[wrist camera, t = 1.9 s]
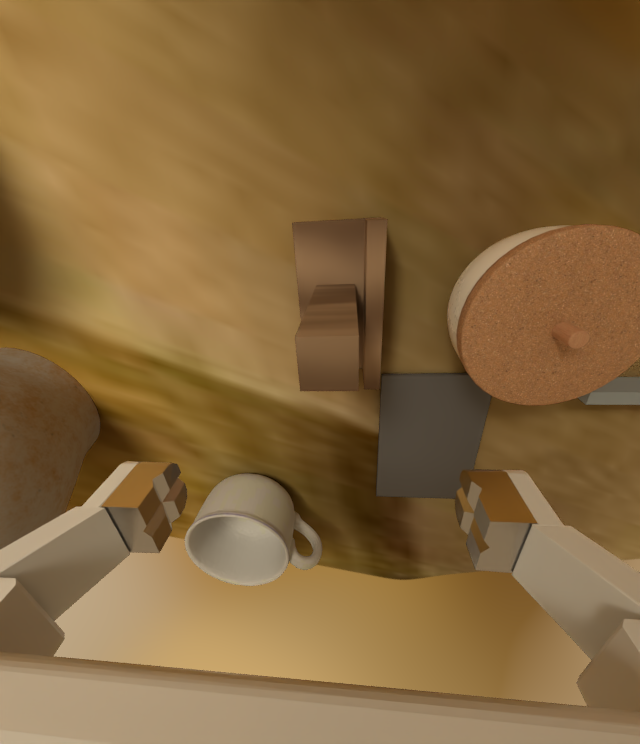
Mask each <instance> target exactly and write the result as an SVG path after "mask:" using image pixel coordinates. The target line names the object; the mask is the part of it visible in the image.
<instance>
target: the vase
mask: <svg viewBox="0 0 640 744" xmlns="http://www.w3.org/2000/svg"><path fill="white" fill-rule="evenodd" d="M99 433H100V418H99V414H98V411H97V408H96V406H95V404H94V402H93V401H92V399H91V397H90V396H89V394H88V393H87V392H86V390H85V389H84V388H83V387H82V386H81V385H80V384H79V383H78V382H77V380H76V379H74V378H73V377H72V376H71V375H70V374H68V373H67V372H66V371H65V370H63V369H62V368H60V367H59V366H57V365H56V364H54V363H53V362H51V361H49V360H47V359H45V358H43V357H41V356H39V355H36V354H34V353H31V352H28V351H24V350H20V349H14V348H0V550H1V549H2V548H4V547H6V546H8V545H9V544H11V543H13V542H15V541H16V540H18V539H20V538H22V537H23V536H25V535H27V534H29V533H31V532H32V531H34V530H36V529H38V528H39V527H41V526H43V525H45V524H46V523H48V522H50V521H52V520H53V519H55V518H57V517H59V516H60V515H62V514H64V513H65V511H66V508H67V506H68V503H69V500H70V498H71V495H72V492H73V489H74V486H75V483H76V480H77V477H78V474H79V471H80V469H81V466H82V463H83V460H84V457H85V454H86V453H87V451H88V450H89V449H90V448H91V446H92V445H93V444H94V442H95V441H96V440H97V438H98V436H99Z"/></svg>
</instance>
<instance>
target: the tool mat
mask: <svg viewBox="0 0 640 744" xmlns="http://www.w3.org/2000/svg"><path fill="white" fill-rule="evenodd" d="M491 397H492V396H491V395H489V394H488V393H486V392H485V391H483V390H482V389H481V388H480V387H479V386H478V385H476V384H475V382H474V381H473V380H472V379H471V377H470V376H469V375H468V373H426V374H382V378H381V400H380V421H379V442H378V463H377V484H376V496H386V497H418V498H450V499H455V497H456V492H457V491H458V490H459V489H460V488H461V487H462V486H461V483H460V481H459V478H460V474H461V472H462V470H463V469H471V470H473V469H474V465H475V461H476V457H477V453H478V449H479V445H480V441H481V437H482V433H483V429H484V425H485V421H486V417H487V413H488V409H489V405H490V401H491Z"/></svg>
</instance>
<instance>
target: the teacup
mask: <svg viewBox="0 0 640 744" xmlns="http://www.w3.org/2000/svg"><path fill="white" fill-rule="evenodd" d="M294 529H295V530H297V531H299V532H300V533H302V534H303V535H304V536H305V537H306V538H307V539H308V540H309V542H310V543H311V545H312V547H313V553H312V554H311V555H310V556H302V555H300V554H299V553H298V551H297V549H296V546H295V540H294V539H293V530H294ZM185 547H186V551H187V553H188V555H189V557H190V558H191V559H192V561H193V562H194V563H195V564H196V565H197V566H198V567H199V568H200V569H202V570H203V571H204V572H205V573H207V574H209V575H210V576H212V577H215V578H217V579H219V580H221V581H224V582H227V583H231V584H236V585H245V586H255V585H262V584H266V583H269V582H271V581H273V580H275V579H277V578H278V577H280V575H282V573H283V572H284V571H285V569H286V568H287V566H288V563H289V561H290V563H291V564H293V565H294V566H295V567H296V568H300V569H302V570H308V569H311V568H313V567H314V566H315V565H316V564H317V563H318V562H319V560H320V558H321V554H322V543H321V540H320V537H319V536H318V534H317V533H316V532H315V530H314V529H312V528H311V527H310V526H309V525H308V524H307V523H306V522H304V521H303V520H302V519H301V517H300V515H299V514H298V513H297V512H295V511H294V505H293V502H292V500H291V497H290V495H289V494H288V493H287V491H286V490H285V489H284V488H283V487H282V486H281V485H280V484H278V483H277V482H275V481H274V480H272V479H270V478H268V477H266V476H263V475H259V474H251V473H244V474H237V475H233V476H230V477H228V478H226V479H224V480H223V481H221V482H220V483H219V484H218V485H217V486H216V487H215V488H214V489H213V490H212V491H211V493H210V494H209V496H208V497H207V499H206V501H205V502H204V504H203V506H202V508H201V509H200V511H199V513H198V515H197V517H196V519H195V521H194V523H193V524H192V525H191V526H190V528H189V529H188V531H187V534H186V537H185Z"/></svg>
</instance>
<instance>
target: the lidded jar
mask: <svg viewBox="0 0 640 744" xmlns="http://www.w3.org/2000/svg"><path fill="white" fill-rule="evenodd" d="M447 324H448V332H449V335H450V339H451V342H452V345H453V347H454V349H455V351H456V353H457V355H458V357H459V359H460V360H461V362H462V364H463V366H464V368H465V370H466V372H467V373H468V375H469V376H470V377H471V379H472V380H473V381H474V382H475V384H476V385H478V386H479V387H480V388H481V389H482V390H483V391H485V392H486V393H488V394H489V395H491V396H493V397H495V398H497V399H500V400H502V401H505V402H509V403H514V404H520V405H548V404H555V403H561V402H564V401H568V400H572V399H575V398H578V397H581V396H583V395H586V394H589V393H591V392H593V391H594V390H596V389H598V388H600V387H602V386H604V385H606V384H607V383H609V382H611V381H612V380H614V379H615V378H617V377H618V376H619V375H621V374H622V373H623V372H624V371H626V370H627V369H628V368H629V367H630V366H631V365H633V364H634V363H635V362H636V361H637V360H638V359H639V358H640V235H639V234H637V233H635V232H633V231H631V230H628V229H624V228H620V227H616V226H609V225H595V224H584V225H574V226H572V225H560V226H550V227H542V228H535V229H531V230H527V231H523V232H520V233H517V234H514V235H512V236H510V237H507V238H505V239H502V240H500V241H499V242H497V243H495V244H493V245H491V246H490V247H489V248H487V249H486V250H485V251H483V252H482V253H480V254H479V255H478V256H477V257H476V258H475V259H474V260H473V261H472V262H471V263H470V264H469V265H468V266H467V268H466V269H465V270H464V271H463V272H462V274H461V275H460V277H459V279H458V280H457V282H456V284H455V286H454V288H453V291H452V293H451V296H450V299H449V303H448V309H447Z"/></svg>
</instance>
